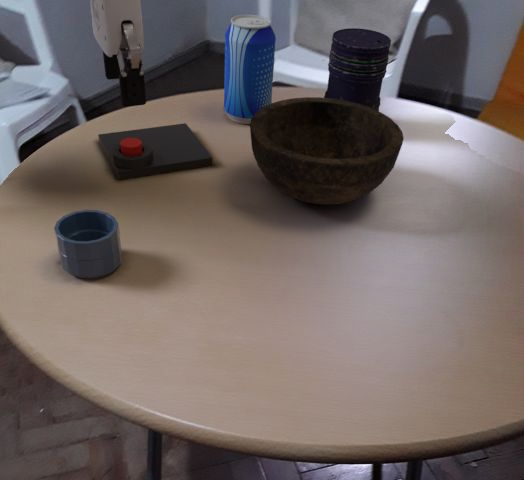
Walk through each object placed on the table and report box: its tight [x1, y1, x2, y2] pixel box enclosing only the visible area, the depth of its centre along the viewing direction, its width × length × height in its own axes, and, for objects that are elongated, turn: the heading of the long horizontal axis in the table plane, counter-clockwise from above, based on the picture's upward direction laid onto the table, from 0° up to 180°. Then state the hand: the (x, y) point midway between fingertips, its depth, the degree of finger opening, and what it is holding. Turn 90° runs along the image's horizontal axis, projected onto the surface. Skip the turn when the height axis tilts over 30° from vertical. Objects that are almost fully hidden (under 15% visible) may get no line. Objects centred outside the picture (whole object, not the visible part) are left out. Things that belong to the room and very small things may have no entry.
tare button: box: [120, 138, 142, 156], centre depth 95 cm, size 3×3×2 cm
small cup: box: [53, 209, 123, 280], centre depth 78 cm, size 7×7×6 cm
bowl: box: [249, 96, 404, 205], centre depth 92 cm, size 22×22×10 cm
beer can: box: [223, 14, 277, 125], centre depth 108 cm, size 8×8×16 cm
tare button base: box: [97, 123, 213, 181], centre depth 100 cm, size 15×13×3 cm
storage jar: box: [323, 27, 392, 112], centre depth 108 cm, size 10×10×15 cm
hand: (125, 91), depth 87 cm, fingers open, 9 cm apart
